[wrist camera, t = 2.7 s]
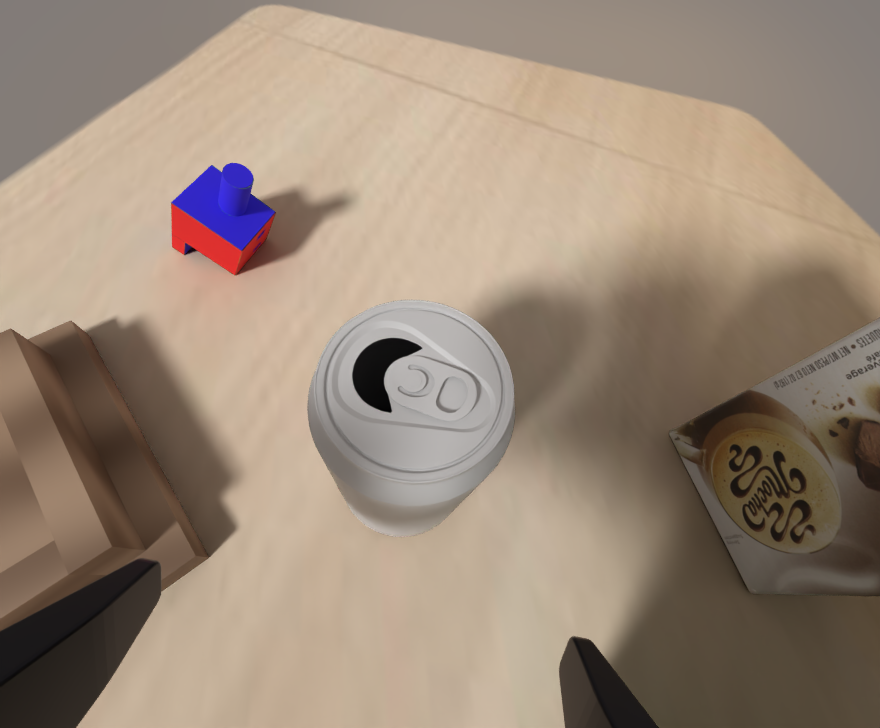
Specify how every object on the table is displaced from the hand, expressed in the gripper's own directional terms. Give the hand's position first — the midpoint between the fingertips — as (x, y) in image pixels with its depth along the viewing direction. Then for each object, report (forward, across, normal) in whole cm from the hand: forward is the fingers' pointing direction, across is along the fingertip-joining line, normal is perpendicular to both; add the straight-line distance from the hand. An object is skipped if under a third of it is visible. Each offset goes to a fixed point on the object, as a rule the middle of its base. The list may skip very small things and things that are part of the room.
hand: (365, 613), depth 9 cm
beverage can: (+13, 0, +5) cm, 13 cm away
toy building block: (+22, +14, -4) cm, 26 cm away
